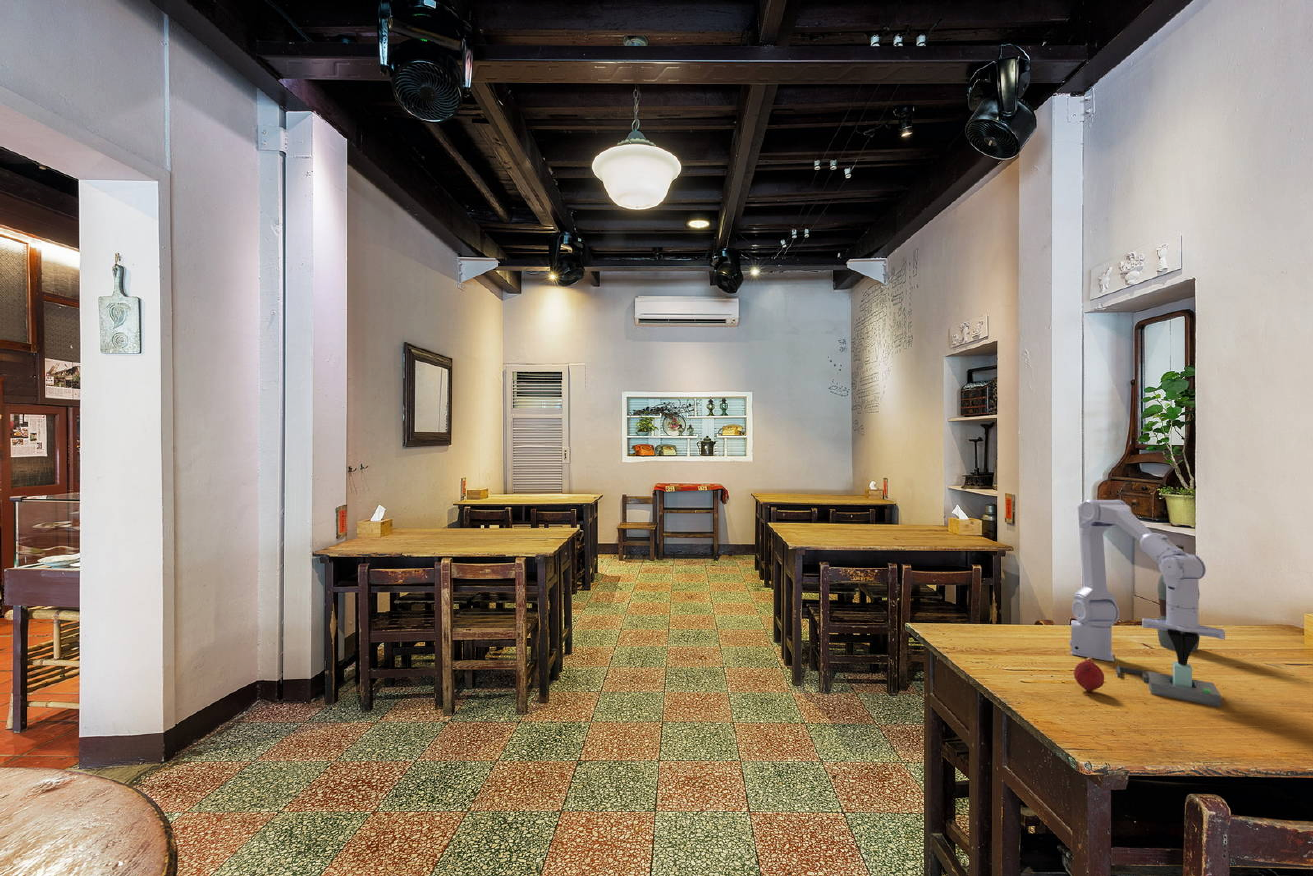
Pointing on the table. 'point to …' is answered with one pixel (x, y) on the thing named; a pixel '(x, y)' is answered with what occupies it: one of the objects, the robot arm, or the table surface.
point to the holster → (1131, 672)
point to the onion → (1089, 675)
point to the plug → (1182, 674)
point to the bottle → (1163, 634)
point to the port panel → (1184, 689)
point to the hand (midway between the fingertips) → (1182, 663)
